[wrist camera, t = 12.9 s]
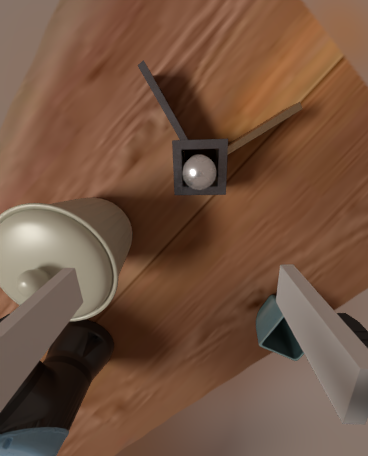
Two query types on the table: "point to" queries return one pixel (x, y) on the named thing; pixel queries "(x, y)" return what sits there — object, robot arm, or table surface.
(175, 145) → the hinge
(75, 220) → the canister
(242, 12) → the table surface
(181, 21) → the table surface
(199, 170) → the hinge pin
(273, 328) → the flower pot
